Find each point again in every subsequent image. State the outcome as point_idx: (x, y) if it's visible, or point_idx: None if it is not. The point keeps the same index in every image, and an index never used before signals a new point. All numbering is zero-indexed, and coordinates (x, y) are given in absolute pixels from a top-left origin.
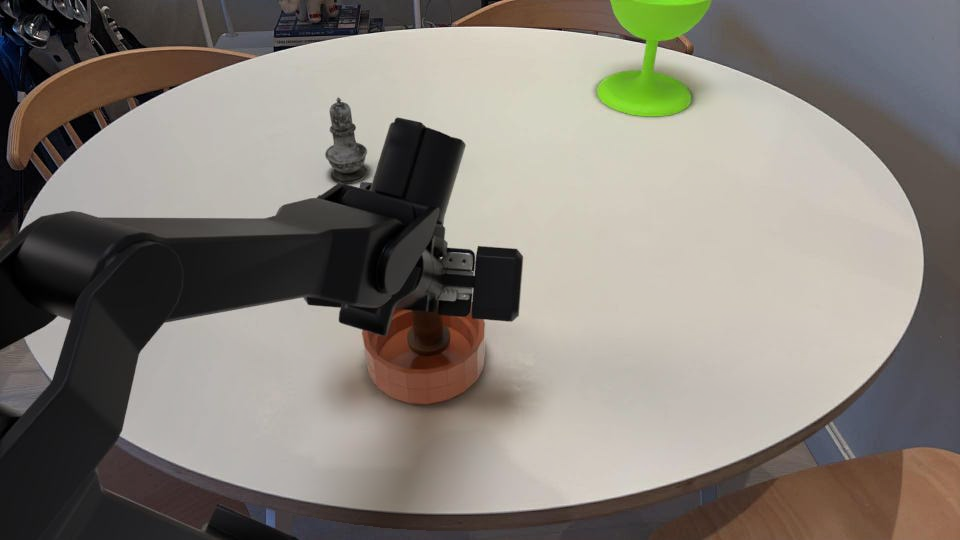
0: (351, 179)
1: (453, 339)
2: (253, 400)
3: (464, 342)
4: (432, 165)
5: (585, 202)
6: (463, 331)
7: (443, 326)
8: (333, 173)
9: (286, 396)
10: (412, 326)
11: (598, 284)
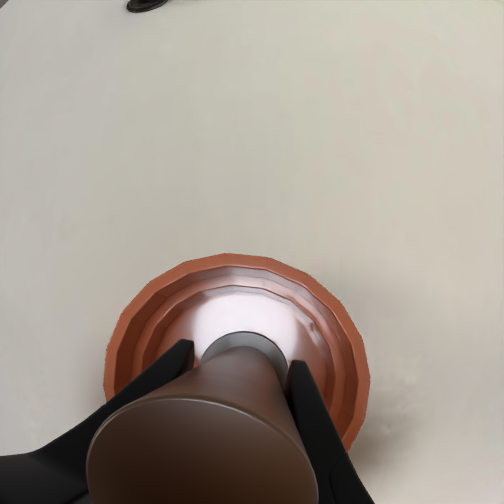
0: (148, 6)
1: (290, 335)
2: (15, 401)
3: (311, 343)
4: None
5: (454, 60)
6: (311, 326)
7: (275, 352)
8: (129, 3)
9: (44, 407)
10: (208, 347)
11: (497, 207)
